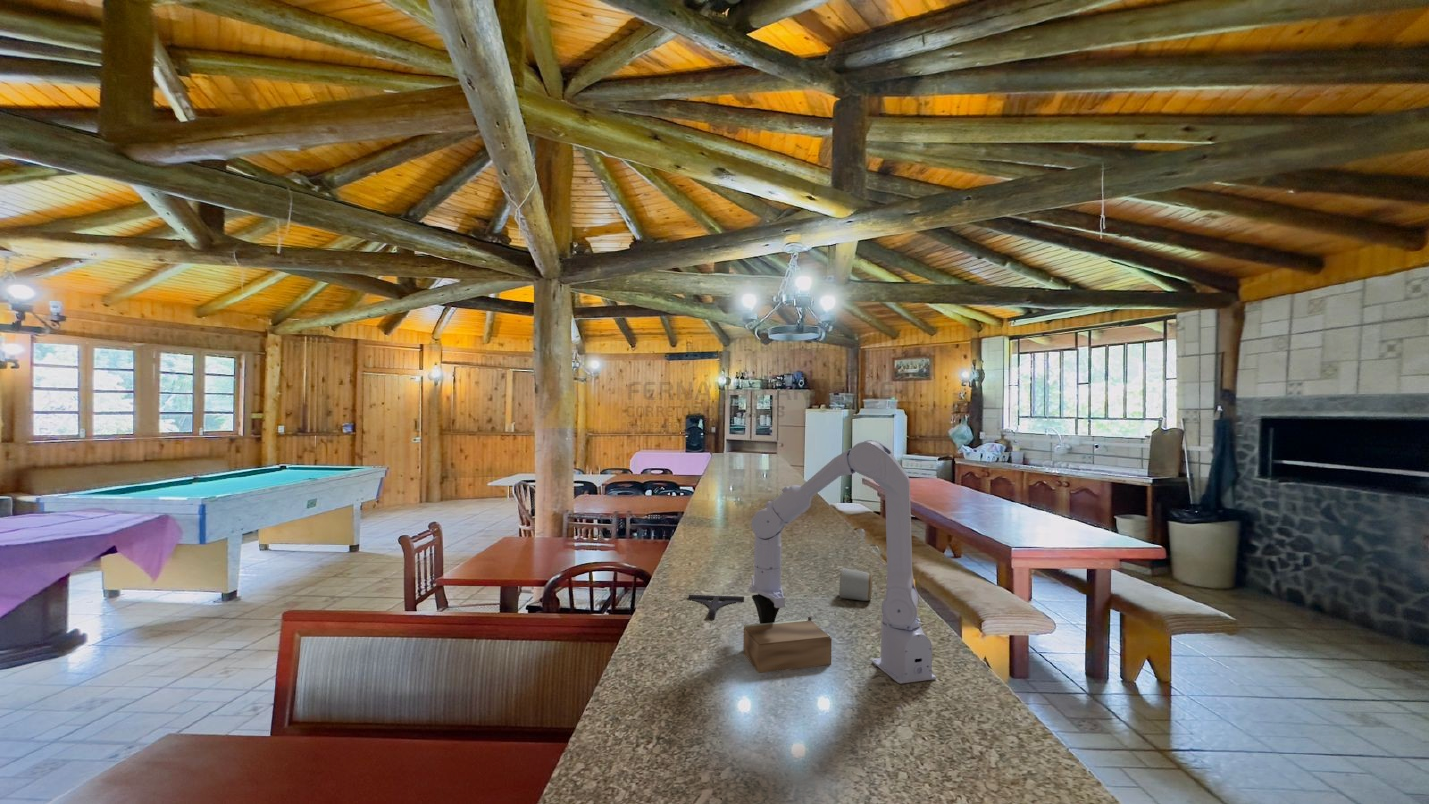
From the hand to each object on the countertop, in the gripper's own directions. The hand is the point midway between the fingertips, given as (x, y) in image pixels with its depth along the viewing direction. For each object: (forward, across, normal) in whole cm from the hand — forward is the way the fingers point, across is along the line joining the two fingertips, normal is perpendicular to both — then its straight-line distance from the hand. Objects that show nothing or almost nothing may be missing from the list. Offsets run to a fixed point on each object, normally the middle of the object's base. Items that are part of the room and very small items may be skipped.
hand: (766, 630), depth 117 cm
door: (+2, +1, +2) cm, 3 cm away
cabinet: (+3, +7, +2) cm, 8 cm away
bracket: (+4, -23, -5) cm, 24 cm away
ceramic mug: (+3, -23, +34) cm, 41 cm away
